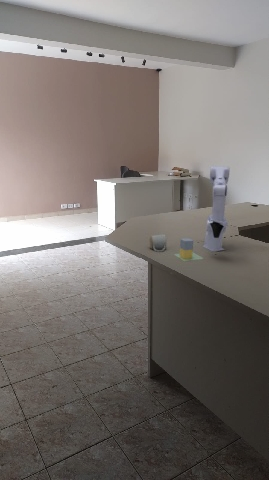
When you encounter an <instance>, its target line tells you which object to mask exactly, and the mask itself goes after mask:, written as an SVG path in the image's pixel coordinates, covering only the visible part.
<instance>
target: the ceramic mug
mask: <svg viewBox="0 0 269 480" xmlns="http://www.w3.org/2000/svg"><path fill="white" fill-rule="evenodd" d="M149 247H150V249H151V250H154V252H159V253H161V252H165V250H166V249H167V237H166V234H155V235H154V234H153V235H151V236H150V237H149Z"/></svg>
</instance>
